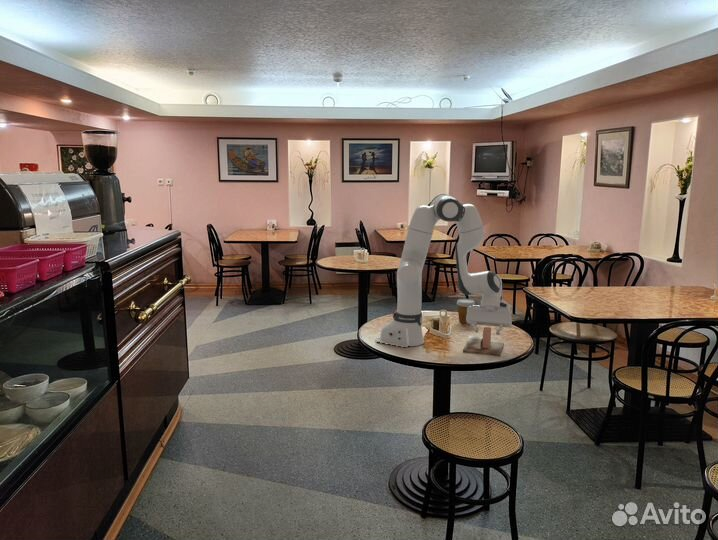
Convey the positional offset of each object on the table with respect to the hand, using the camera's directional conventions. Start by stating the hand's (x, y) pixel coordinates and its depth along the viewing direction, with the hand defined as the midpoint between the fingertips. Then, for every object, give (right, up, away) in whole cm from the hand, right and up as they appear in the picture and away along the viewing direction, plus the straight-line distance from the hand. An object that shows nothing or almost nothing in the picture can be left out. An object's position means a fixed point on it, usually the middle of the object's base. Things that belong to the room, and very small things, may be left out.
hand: (487, 333), depth 229 cm
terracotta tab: (0, -6, -1) cm, 6 cm away
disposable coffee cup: (-1, 0, +40) cm, 40 cm away
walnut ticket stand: (-2, -7, 0) cm, 7 cm away
